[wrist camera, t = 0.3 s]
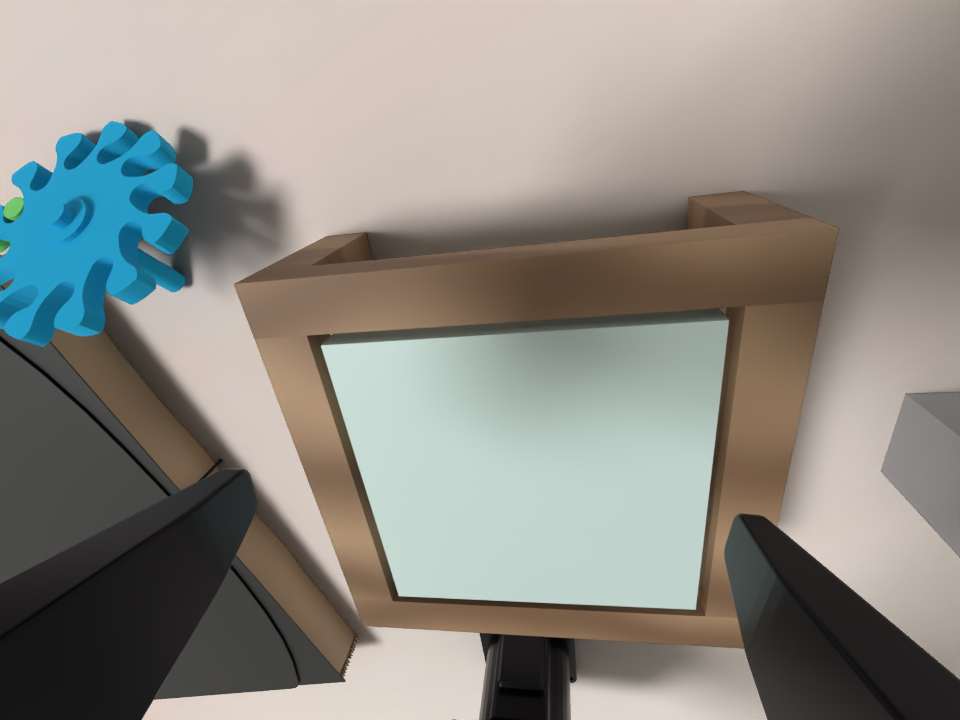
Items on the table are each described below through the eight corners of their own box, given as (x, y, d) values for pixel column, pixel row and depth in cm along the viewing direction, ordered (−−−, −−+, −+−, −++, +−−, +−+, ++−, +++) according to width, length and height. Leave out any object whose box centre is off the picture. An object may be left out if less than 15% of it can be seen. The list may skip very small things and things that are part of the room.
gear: (202, 108, 18) (96, 348, 15) (290, 202, 24) (224, 392, 21) (2, 111, 21) (-118, 315, 18) (123, 195, 26) (45, 361, 24)
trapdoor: (405, 577, 23) (398, 596, 22) (333, 333, 17) (320, 345, 16) (689, 588, 20) (695, 609, 19) (718, 307, 14) (728, 319, 14)
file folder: (345, 687, 33) (120, 705, 41) (366, 630, 37) (156, 657, 44) (-30, 259, 21) (-253, 401, 28) (57, 237, 24) (-161, 368, 32)
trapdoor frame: (705, 523, 26) (751, 648, 20) (403, 519, 29) (363, 625, 23) (743, 191, 18) (839, 228, 12) (325, 236, 22) (233, 284, 15)
